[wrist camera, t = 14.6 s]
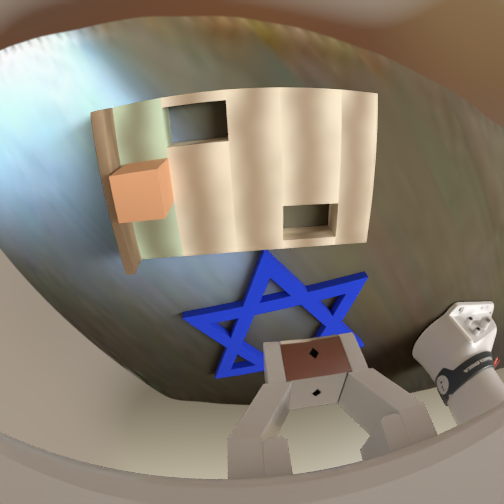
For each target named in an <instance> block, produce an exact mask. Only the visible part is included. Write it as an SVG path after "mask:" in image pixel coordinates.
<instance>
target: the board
mask: <svg viewBox="0 0 504 504" xmlns="http://www.w3.org/2000/svg"><path fill="white" fill-rule="evenodd" d="M221 100H226V110H227V125H228V137H223V138H212V139H202V140H193V141H185V142H177V143H172V137H171V127H170V118H169V108H168V107H171V106H178V105H185V104H193V103H201V102H210V101H221ZM377 111H378V94H376V93H368V92H360V91H349V90H337V89H321V88H247V89H231V90H218V91H208V92H199V93H191V94H183V95H176V96H170V97H164V98H158V99H152V100H147V101H142V102H137V103H132V104H127V105H123V106H119V107H114V108H109V109H103V110H98V111H94V112H91V121H92V129H93V135H94V142H95V148H96V154H97V160H98V165H99V170H100V175H101V180H102V185H103V190H104V194H105V198H106V203H107V207H108V211H109V215H110V219H111V223H112V227H113V231H114V234H115V238H116V242H117V245H118V248H119V252H120V255H121V259H122V262H123V265H124V268H125V271H126V275H128V274H135V273H136V270H137V268H138V266H139V264H140V262H141V260H142V259H151V258H164V257H177V256H190V255H203V254H216V253H230V252H243V251H256V250H269V249H282V248H296V247H309V246H322V245H336V244H349V243H363V242H366V240H367V233H368V226H369V219H370V211H371V202H372V193H373V183H374V171H375V158H376V141H377ZM163 158H168V161H169V168H170V176H171V183H172V190H173V197H174V202H173V204H172V206H171V208H170V210H169V212H168V214H167V216H166V218H165V219H158V220H148V221H138V222H128V223H119V222H118V217H117V213H116V209H115V204H114V200H113V195H112V190H111V185H110V180H109V176H110V175H111V174H113V173H114V172H115V171H117V170H118V169H120V168H121V167H122V166H124V165H125V164H129V163H135V162H142V161H149V160H156V159H163ZM311 204H329V217H328V225H325V226H309V227H293V228H283V206H291V205H311Z"/></svg>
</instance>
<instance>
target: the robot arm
mask: <svg viewBox="0 0 504 504" xmlns="http://www.w3.org/2000/svg"><path fill="white" fill-rule="evenodd" d="M493 309H494V304H493V302H492V301H483V302H456V303H454V304H453V305H452V306H451V307H450V308H449V309H448V311H447V312H446V313H445V314H444V315H443V316H441V317H440V318H439V319H437V320H436V321H435V322H433V323H432V324H431V325H430V326H429V327H428V328H427V329H426V330H425V331H424V332H423V333H422V334H421V336H420V337H419V338H418V340H417V341H416V343H415V345H414V348H413V352H412V354H413V357H414V359H416V360H417V361H418V362H419V363H420V364H421V365H422V366H423V367H424V369H425V370H426V371H427V372H428V374H429V375H430V376H431V378H432V379H433V380H434V382H435V383H436V387H437V390H438V392H439V394H440V396H441V398H442V400H443V402H444V404H445V405H446V406H448V407H449V409H450V411H451V413H452V415H453V417H454V419H455V422H456V424H457V426H456V427H454V428H452V429H450V430H448V431H445V432H443V433H441V434H439V435H437V432H436V430H435V427H434V425H433V423H432V420H431V418H430V416H429V413H428V411H427V409H426V407H425V404H424V403H423V402H422V401H420V400H419V399H417V398H416V397H414V396H413V395H411V394H410V393H408V392H407V391H405V390H404V389H402V388H401V387H399V386H398V385H397V384H395V383H394V382H392V381H391V380H389V379H388V378H386V377H385V376H383V375H382V374H381V373H379V372H378V371H376V370H375V369H373V368H369V369H368V366H367V364H366V361H365V359H364V357H363V354H362V352H361V349H360V347H359V345H358V342H357V340H356V338H355V335H354V334H353V333H352V332H350V333H344V334H338V335H329V336H322V337H315V338H308V339H301V340H289V341H278V342H264V343H263V354H264V375H265V384H263V385H262V387H261V389H260V390H259V392H258V393H257V395H256V396H255V398H254V400H253V401H252V403H251V404H250V406H249V407H248V409H247V410H246V412H245V413H244V415H243V416H242V418H241V419H240V421H239V423H238V424H237V425H236V427H235V428H234V430H233V431H232V433H231V434H230V435H229V437H228V438H227V444H228V445H227V446H228V447H227V448H228V479H190V478H176V477H165V476H155V475H148V474H140V473H134V472H128V471H122V470H117V469H112V468H107V467H103V466H98V465H94V464H90V463H86V462H82V461H78V460H75V459H71V458H68V457H65V456H62V455H58V454H55V453H52V452H49V451H46V450H44V449H41V448H38V447H35V446H33V445H30V444H28V443H25V442H23V441H20V440H18V439H16V438H13V437H11V436H9V435H7V434H4V433H2V432H0V504H504V384H503V382H502V381H501V379H500V378H499V376H498V375H497V373H496V372H495V370H494V369H495V367H496V366H497V364H498V363H499V361H500V360H499V361H498V362H497V363H496V361H497V359H498V357H497V358H496V359H495V361H493V358H492V354H491V350H492V347H493V343H494V340H495V336H496V332H497V328H496V324H495V322H494V321H493V319H492V318H491V316H492V313H493ZM334 403H338V405H339V406H340V407H341V408H342V409H343V410H344V411H345V412H346V413H347V414H348V415H349V416H350V417H351V418H353V419H354V420H355V421H356V422H357V423H358V424H359V425H360V426H361V427H362V428H363V429H364V430H365V431H366V432H367V433H368V434H369V435H370V437H369V438H368V440H367V441H366V443H365V444H364V445H363V447H362V448H361V449H360V451H361V455H362V459H363V461H360V462H356V463H352V464H348V465H343V466H339V467H334V468H329V469H324V470H319V471H313V472H307V473H300V474H293V473H292V466H291V460H290V453H289V447H288V441H287V439H286V438H284V437H282V436H277V434H278V432H279V431H280V428H281V427H282V425H283V423H284V421H285V419H286V416H287V415H288V412H289V410H295V409H301V408H308V407H313V406H321V405H328V404H334ZM276 436H277V437H276Z"/></svg>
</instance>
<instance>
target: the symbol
mask: <svg viewBox="0 0 504 504" xmlns="http://www.w3.org/2000/svg"><path fill="white" fill-rule="evenodd" d="M270 278H271V279H272V280H273V281H275V282H276V283H277V284H278V285H279V286H280V287H281V288H282V289H284V290H285V291H283V292H278V293H274V294H269V295H265V296H263V294H264V291H265V289H266V286H267V284H268V282H269V279H270ZM367 278H368V276H367V274H366V273H365V271H364V272H360V273H357V274H353V275H349V276H345V277H341V278H337V279H333V280H329V281H325V282H321V283H317V284H313V285H308V286H305V285H304V284H302V283H301V282H300V281H299V280H298V279H297V278H296V277H295V276H294V275H293V274H292V273H291V272H290V271H289V270H288V269H287V268H286V267H285V266H283V265H282V264H281V263H280V262H279V261H278V260H277V259H276V258H275V257H274V256H273V255H272V254H271V253H270V252H269V251H268V250H261V253H260V255H259V258H258V261H257V264H256V266H255V269H254V272H253V274H252V277H251V280H250V282H249V285H248V288H247V290H246V293H245V296H244V298H243V300H241V301H237V302H232V303H227V304H222V305H217V306H212V307H207V308H202V309H197V310H191V311H186V312H183V316H182V319H184V320H185V321H187V322H188V323H190V324H191V325H193V326H194V327H196V328H197V329H199V330H200V331H202V332H203V333H205V334H206V335H208V336H209V337H211V338H212V339H214V340H216V341H217V342H219V343H220V344H222V345H223V346H225V348H224V351H223V354H222V356H221V359H220V362H219V364H218V367H217V369H216V372H215V379H216V378H223V377H230V376H236V375H243V374H248V373H254V372H260V371H264V354H263V353H262V352H260V351H259V350H257V349H255V348H254V347H252V346H251V345H249V344H248V343H246V342H245V341H243V340H244V338H245V336H246V333H247V331H248V329H249V326H250V324H251V322H252V319H253V317H254V315H257V314H262V313H266V312H271V311H276V310H280V309H285V308H289V307H294V306H298V305H302V306H303V307H304V308H305V309H306V310H308V311H309V312H310V313H311V314H312V315H313V316H314V317H316V318H317V319H318V320H319V321H320V322H321V323H322V325H321V327H320V328H319V330H318V331H317V333H316V335H315V336H314V338H315V337H322V336H329V335H333V333H334V334H335V335H338V334H344V333H350V332H352V333H353V334H354V335H355V338H356V340H357V342H358V345H359V347H364V344H363V342H362V340H361V339H360V338H359V337H358V336H357V335H356V334H355V333H354V332H353V331H352V330H351V329H350V328H348V327H347V326H346V325H345V324H344V323H343V322H342V320H343V318H344V316H345V315H346V313H347V312H348V310H349V308H350V307H351V305H352V304H353V302H354V300H355V299H356V297H357V295H358V294H359V292H360V290H361V289H362V287H363V285H364V283H365V282H366V280H367ZM335 296H338V298H337V300H336V301H335V303H334V305H333V306H332V308H331V310H330V309H329V308H328V307H327V306H326V305H325V304H323V303H322V302H321V301H320V300H323V299H327V298H331V297H335ZM232 319H235V322H234V325H233V327H232V330H231V332H230V331H228V330H227V329H225V328H224V327H222V326H221V325H219V324H218V323H217V322H222V321H227V320H232ZM237 354H238V355H239V356H241V357H243V358H244V359H246V360H248V361H243V362H238V363H234V361H235V359H236V356H237Z"/></svg>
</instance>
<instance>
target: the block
mask: <svg viewBox="0 0 504 504" xmlns="http://www.w3.org/2000/svg"><path fill="white" fill-rule="evenodd" d="M109 180H110V185H111V190H112V195H113V200H114V204H115V209H116V213H117V217H118V222H119V223H128V222H138V221H148V220H158V219H165V218H166V216H167V214H168V212H169V210H170V208H171V206H172V204H173V202H174V197H173V190H172V183H171V176H170V168H169V161H168V158H163V159H156V160H149V161H142V162H135V163H129V164H125V165H124V166H122V167H121V168H120V169H118V170H117V171H115V172H114V173H113V174H111V175H110V176H109Z"/></svg>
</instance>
